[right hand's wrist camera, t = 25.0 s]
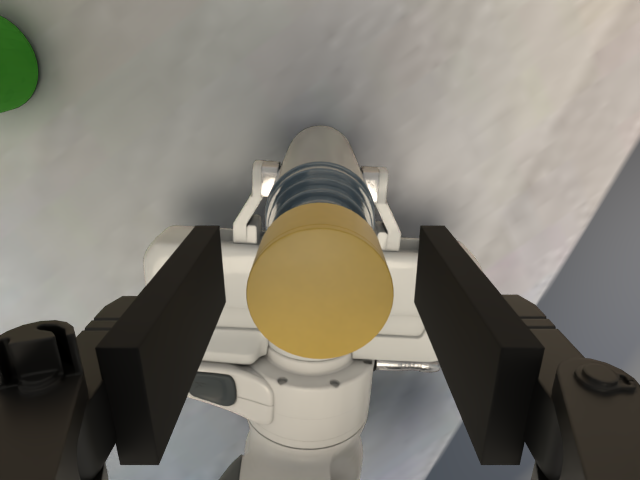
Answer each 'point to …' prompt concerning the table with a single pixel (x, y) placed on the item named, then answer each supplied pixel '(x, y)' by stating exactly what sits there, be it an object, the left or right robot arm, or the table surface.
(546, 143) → the table surface
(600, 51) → the table surface
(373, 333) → the cap
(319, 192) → the bottle
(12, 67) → the potted flower
